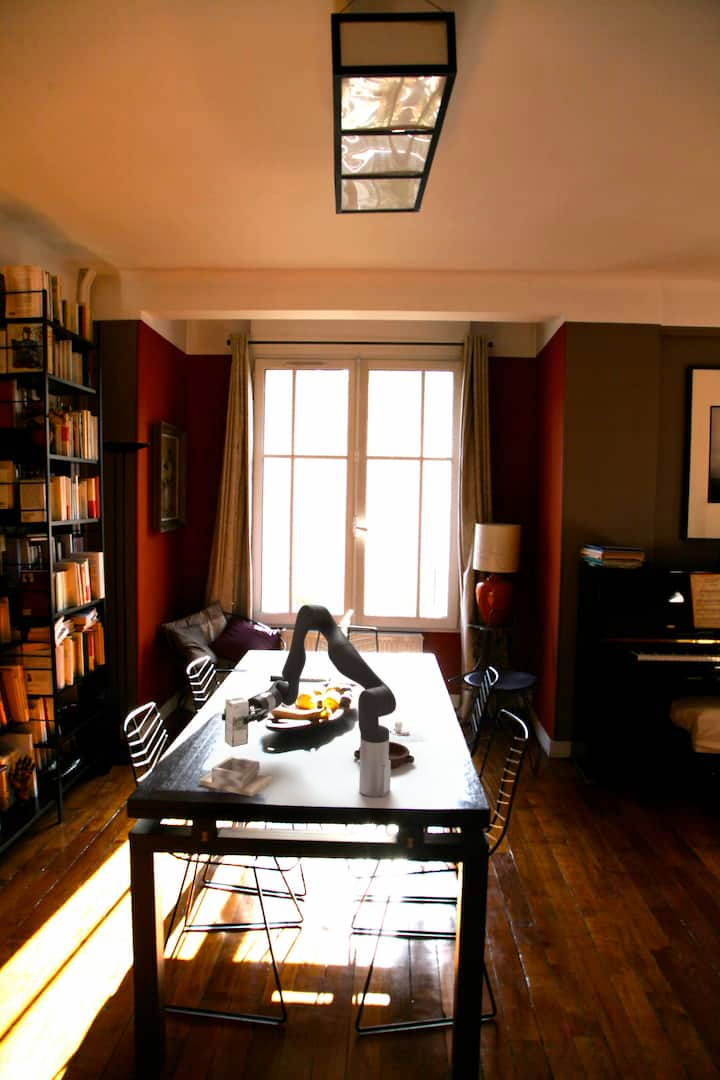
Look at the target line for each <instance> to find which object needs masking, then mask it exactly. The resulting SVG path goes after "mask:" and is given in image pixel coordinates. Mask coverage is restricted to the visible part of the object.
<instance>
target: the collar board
mask: <svg viewBox="0 0 720 1080" xmlns="http://www.w3.org/2000/svg"><path fill="white" fill-rule="evenodd" d="M272 779H273V777H272V776H270V775H269V776H268V775H263V774H260V761H258V760H253V759H247V758H243V757H237V756H233V755H231V756H230V757H227V758H226V759H225V760H223V761H221V762H220V763H218V764H215V766H213V767H211V772H210V773H208V774H206V775H205V776H203V777H202V778H200V779H198V785H199V786H200V785H201V786H204V787H208V788H212V789H217V790H222V791H225V792H230V793H235V794H240V795H243V796H248V797H251V798H252V797H254V796H255V795H256V794H257V793H258V792H260V791H261V790H263V789H264V788H265V787H267V786H268V785H269V784H270V783H272V782H273V780H272Z"/></svg>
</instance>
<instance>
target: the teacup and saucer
mask: <svg viewBox="0 0 720 1080" xmlns="http://www.w3.org/2000/svg"><path fill="white" fill-rule="evenodd" d="M403 726H404V725H403V721H395V722H394V728H395V729H396V730H395V732H396V733H395V732H393V731H392V732H393V733H392V732H391V733H390V734H391V735H395V734H396V735H395V736H404V735H405V736H406V735H408V734H409V733H410V730H409V729H407V728H404V727H403ZM394 728H391V729H390V730H392V729H394ZM402 729H404V730H402ZM398 732H400V733H398ZM394 733H395V734H394Z"/></svg>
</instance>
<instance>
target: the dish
mask: <svg viewBox="0 0 720 1080" xmlns="http://www.w3.org/2000/svg"><path fill="white" fill-rule="evenodd" d="M353 757H354V758H355V759H358V760H360V746H359V747H358V749H357V750H354V752H353ZM389 760H390V761H391V769H396V768H399V767H401V766H403V765H405V764H414V762H415V757H414V756H413V755H411V753H410V750H409V748H408V747H406V746H405V745H403V744H401V743H399V742H394V741H389Z"/></svg>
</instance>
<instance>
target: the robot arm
mask: <svg viewBox="0 0 720 1080" xmlns="http://www.w3.org/2000/svg"><path fill="white" fill-rule="evenodd" d="M309 631H318V632H319V633H320V634H321V635H322V636H323V637H324V639H325V640H326V642H327V655H328V659H329V660H330V662H331V664H332V665H333V666H334V667H335V669H336V670H337V671H338V672H339V673H340V674H341V675H342V676H343V677H346V678H347V679H349V680H351V681H353V682H355V683H356V684H357V685H360V686H361V687H362V688H363V689H364V690H362V691H361V692H360V694H359V696H358V701H357V708H358V709H357V713H358V728H359V733H360V741H359V742H360V745H359V747H360V759H359V782H358V784H359V786H358V787H359V789H358V790H359V792H360V794H362V795H363V796H367V797H369V798H378V797H380V798H381V797H382V798H384V797H386V795H387V794H388V793H389V791H390V790H391V771H392V770H391V761H390V760H389V742H390V732H389V731H390V730H389V729H388V727H386V726H384V725H381V724H380V723H379V722H380V719H379V718H382V717H386V716H389V715H391V714H393V713H394V712H395V711H396V708H397V699H396V697H395V695H394V692H393V691H392V690H391V688H390V687H389V686H388V685H387V684H386V683H385V682H384V681H383V680H382V679H381V678H380V677H379V676H378V675H377V674H376V673H375V671H374V670H373V669H372V668H371V667H370V666H369V664H368V663H367V662H366V661H365V659H364V658H363V657H362V656H361V654H360V653H359V652H358V650H357V649H356V648H355V646H354V645H353V644H352V642H351V641H350V640H349V639H348V637H347V636H346V635H345V633H344V632H343V631H342V629H341V628H340V626H338V623H337V622H336V621H335V618H334V616H333V615H332V613H331V612H330V611H329V609H328V608H327V607H326V606H325V605H324V606H323V605H319V604H303V605H302V606H301V607H300V608H299V610H298V612H297V614H296V618H295V623H294V628H293V633H292V639H291V642H290V643H291V644H290V647H289V648H290V649H289V652H288V655H287V658H286V660H285V663H284V664H283V669H282V671H281V677H283V679H284V680H285V681H286V682H285V681H284V680H281V679H280V680H279V679H277V680H275V681H274V682H273V683H272V685H271V686H270V688H269V689H267V690H265V691H263V692H259V693H258V694H256V695H254V696H252V697H250V698H248V699H246V700H247V701H248V702H249V708H248V716H246V717H244V718H243V724H245V725H246V724H248V725H249V724H250V723H253V722H255V721H256V722H257V723H260V722H262V721H263V720H265V719H267V718H268V717H269V714H270V713H271V712H273V711H274V710H275V709H277V708H279V707H280V706H281V705H282V704H283V705H284V706H286V707H290V706H292V705H294V704H295V703H296V702H297V700H298V697H299V691H300V681H301V675H302V673H303V672H304V667H305V666H306V661H307V653H306V648H305V647H306V646H305V643H306V642H305V641H306V637H307V635H308V632H309ZM223 710H224V711H223V713H222V714H221V721H223V722H225V707H224V709H223Z"/></svg>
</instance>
